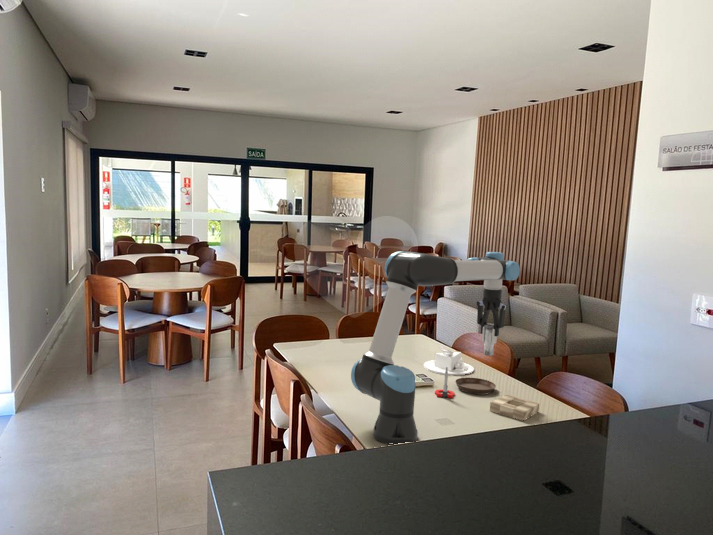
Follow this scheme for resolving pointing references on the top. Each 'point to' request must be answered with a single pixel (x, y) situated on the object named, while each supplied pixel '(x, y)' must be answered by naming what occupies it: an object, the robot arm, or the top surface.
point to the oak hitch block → (514, 407)
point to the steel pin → (488, 339)
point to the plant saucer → (475, 385)
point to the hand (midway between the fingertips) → (489, 342)
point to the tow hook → (445, 389)
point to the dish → (448, 363)
